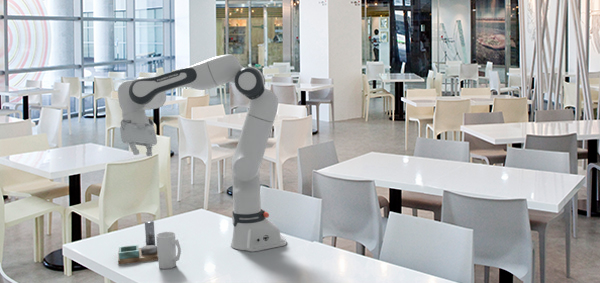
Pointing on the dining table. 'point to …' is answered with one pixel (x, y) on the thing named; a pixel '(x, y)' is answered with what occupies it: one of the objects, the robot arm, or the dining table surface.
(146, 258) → the nut block
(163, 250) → the mug
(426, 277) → the dining table surface
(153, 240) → the pin
